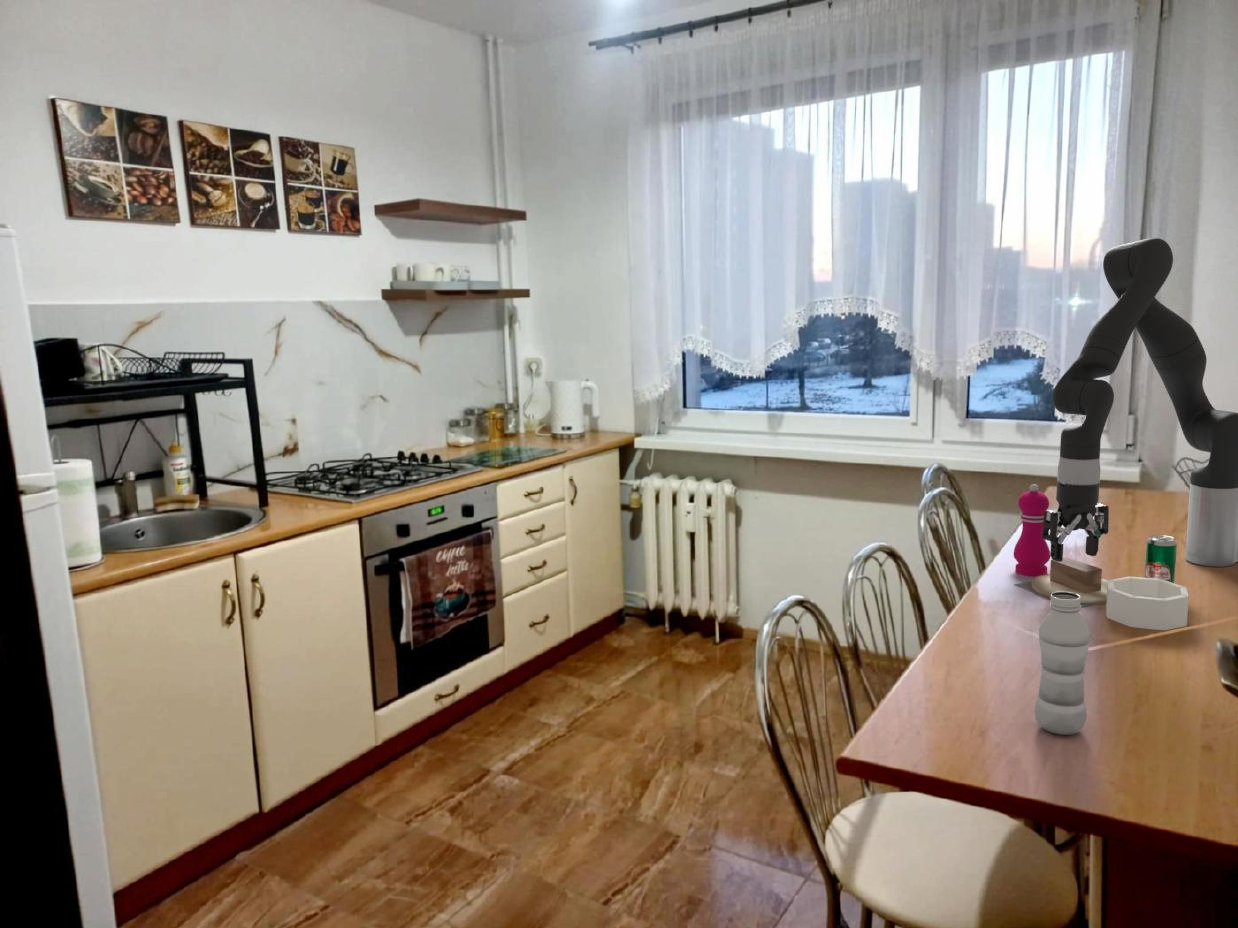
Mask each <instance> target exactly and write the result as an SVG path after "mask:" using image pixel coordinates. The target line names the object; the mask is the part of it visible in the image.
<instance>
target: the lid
mask: <svg viewBox="0 0 1238 928" xmlns="http://www.w3.org/2000/svg"><path fill="white" fill-rule="evenodd" d="M1102 572H1103V569H1102V568H1100V567H1097V566H1095V565H1091V564H1088V563H1086V562H1082V561H1080V560H1076V559H1074V558H1069V557H1068V556H1066V557H1065V556H1063V560H1062V561H1060V562H1058V561H1055V560H1052V559H1050V573H1047V574H1045V575H1041V576H1038V577H1033V578H1032V580H1031V581H1032V582H1031V588H1032V590H1033V591H1035V592H1036V593H1038V594H1039V595H1038V594H1037V595H1038V596H1041V595H1042V596H1041V597H1043V596H1044V598H1046V597H1047V598H1046V599H1048V598H1050V599H1049V600H1051V594H1052V593H1054V592H1071V593H1075V594H1078V595H1079V596H1080V603H1084V604H1095V603H1103V604H1106V603H1105V602H1106V597H1107V580H1108V579H1104V578H1102V574H1103V573H1102ZM1036 593H1035V594H1036Z"/></svg>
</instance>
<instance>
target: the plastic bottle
mask: <svg viewBox="0 0 1238 928" xmlns="http://www.w3.org/2000/svg"><path fill="white" fill-rule="evenodd" d="M1049 609H1050V610H1051V611H1050V612H1048V614H1046V616H1045V617H1044V618H1043V619H1042V621H1041V623H1040V624H1039V627H1038V641H1039V648H1040V649H1039V650H1040V659H1041V662H1040V665H1041V667H1040V668H1041V669H1040V671H1041V672H1040V682H1039V686H1038V687H1039V688H1038V694H1037V697H1036V699H1035V704H1034V714H1035V715H1034V716H1035V720H1036V722H1037V724H1038V725H1039V727H1040V728H1041V729H1043V730H1045V731H1047V732H1049V733H1052V734H1055V735H1056V734H1057V735H1063V736H1066V735H1075V734H1078V733H1080V731H1082V730H1083V729H1084V728H1085V725H1086V721H1087V717H1088V714H1087V706H1086V700H1085V686H1084V683H1085V682H1084V679H1085V670H1086V669H1085V668H1086V660H1087V657H1088V656H1087V655H1088V652H1089V648H1090V642H1091V639H1092V638H1091V637H1092V634H1091V630H1090V627H1089V625H1088V623H1087V622H1086V620H1085V619H1084V618H1083V616H1082V615H1081V614H1080V611H1081V610H1082V608H1081V605H1080V596H1079V595H1078V594H1075V593H1071V592H1054V593H1052V594H1051V599H1050V602H1049Z"/></svg>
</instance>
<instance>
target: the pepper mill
mask: <svg viewBox="0 0 1238 928" xmlns="http://www.w3.org/2000/svg"><path fill="white" fill-rule="evenodd" d="M1039 489H1040V488H1039V486H1038V484H1035V483H1034V484H1031V485H1030V486H1029V490H1028V491H1026V492H1023V493H1022V494H1020V496H1019V498H1018V500H1017V501H1018V502H1017V506H1018V508H1019V510H1021V512H1020V513H1019V515H1020V517H1019V518H1020V520H1021V522H1022V528H1021V529H1022V530H1021V534H1020V536H1019V538H1018V540H1017V542H1016V544H1015V546H1014V550H1013V558H1014V559H1015V561H1016V562H1017V563H1016V564H1015V573H1016V574H1019V575H1021V576H1024V577H1025V576H1026V577H1033V578H1035V577H1038V576H1041V575H1045V574H1048V566H1047V565H1046V564H1047V563H1048V562H1049V561H1051V556H1050V551H1051V549H1050V547H1049V545H1048V543H1047V540H1045V539H1043V538H1042V530H1043V520H1044V512H1045V511H1046V510H1049V507H1050V501H1049V498H1048V496H1047V495H1046V494H1045V493H1043V492H1042V491H1039Z"/></svg>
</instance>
